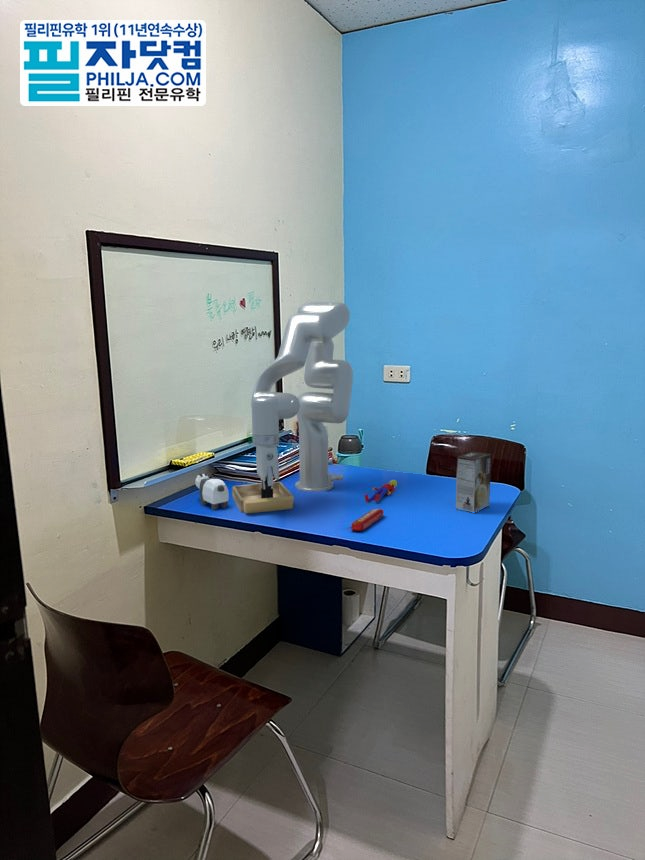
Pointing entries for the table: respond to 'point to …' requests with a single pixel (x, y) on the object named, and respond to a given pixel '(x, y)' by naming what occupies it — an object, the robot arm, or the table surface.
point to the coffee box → (473, 481)
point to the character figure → (382, 491)
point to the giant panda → (212, 491)
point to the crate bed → (255, 493)
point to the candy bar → (367, 520)
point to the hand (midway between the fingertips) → (267, 501)
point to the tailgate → (268, 504)
